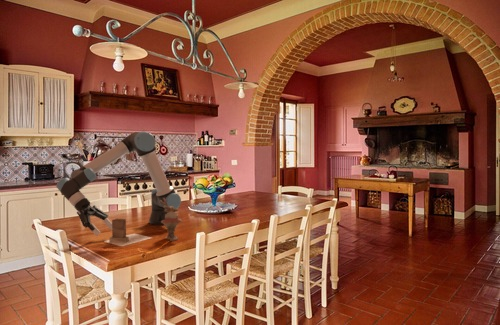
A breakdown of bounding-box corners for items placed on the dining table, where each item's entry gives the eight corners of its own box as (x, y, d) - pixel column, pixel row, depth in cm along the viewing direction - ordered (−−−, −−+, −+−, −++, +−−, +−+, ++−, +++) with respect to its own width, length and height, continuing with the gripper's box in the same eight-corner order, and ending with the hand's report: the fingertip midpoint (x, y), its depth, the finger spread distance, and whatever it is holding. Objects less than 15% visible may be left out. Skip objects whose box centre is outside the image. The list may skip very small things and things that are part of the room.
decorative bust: (171, 232, 206) (171, 192, 201) (184, 239, 198) (184, 197, 192) (155, 237, 198) (154, 195, 193) (168, 245, 190) (167, 201, 184)
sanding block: (113, 240, 189) (113, 218, 188) (129, 241, 187) (128, 219, 187) (109, 242, 185) (109, 220, 184) (125, 243, 183) (124, 220, 183)
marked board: (134, 235, 203) (134, 233, 203) (152, 239, 194) (152, 237, 194) (103, 243, 187) (103, 241, 187) (121, 248, 178) (121, 246, 178)
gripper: (89, 203, 201) (113, 229, 199) (59, 211, 176) (87, 241, 175) (97, 194, 200) (122, 221, 198) (68, 201, 175) (96, 232, 174)
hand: (105, 230), depth 187 cm, fingers open, 13 cm apart
